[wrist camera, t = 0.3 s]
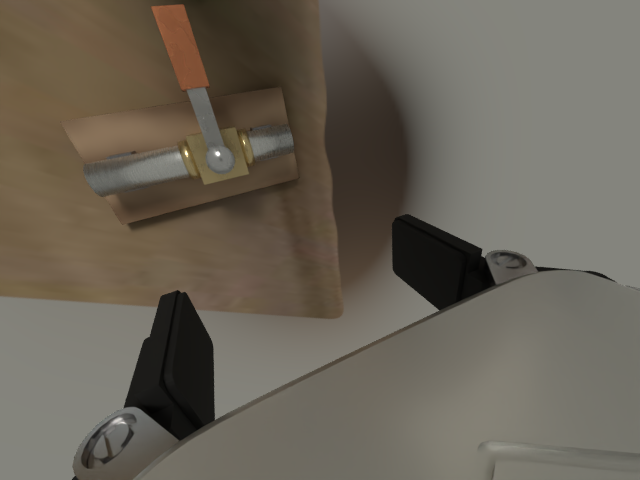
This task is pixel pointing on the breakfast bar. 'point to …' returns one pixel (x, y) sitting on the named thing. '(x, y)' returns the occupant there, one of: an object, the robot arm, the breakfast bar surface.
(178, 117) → the valve stand
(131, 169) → the valve and pipe
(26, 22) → the breakfast bar surface
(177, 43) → the valve lever
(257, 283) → the breakfast bar surface
